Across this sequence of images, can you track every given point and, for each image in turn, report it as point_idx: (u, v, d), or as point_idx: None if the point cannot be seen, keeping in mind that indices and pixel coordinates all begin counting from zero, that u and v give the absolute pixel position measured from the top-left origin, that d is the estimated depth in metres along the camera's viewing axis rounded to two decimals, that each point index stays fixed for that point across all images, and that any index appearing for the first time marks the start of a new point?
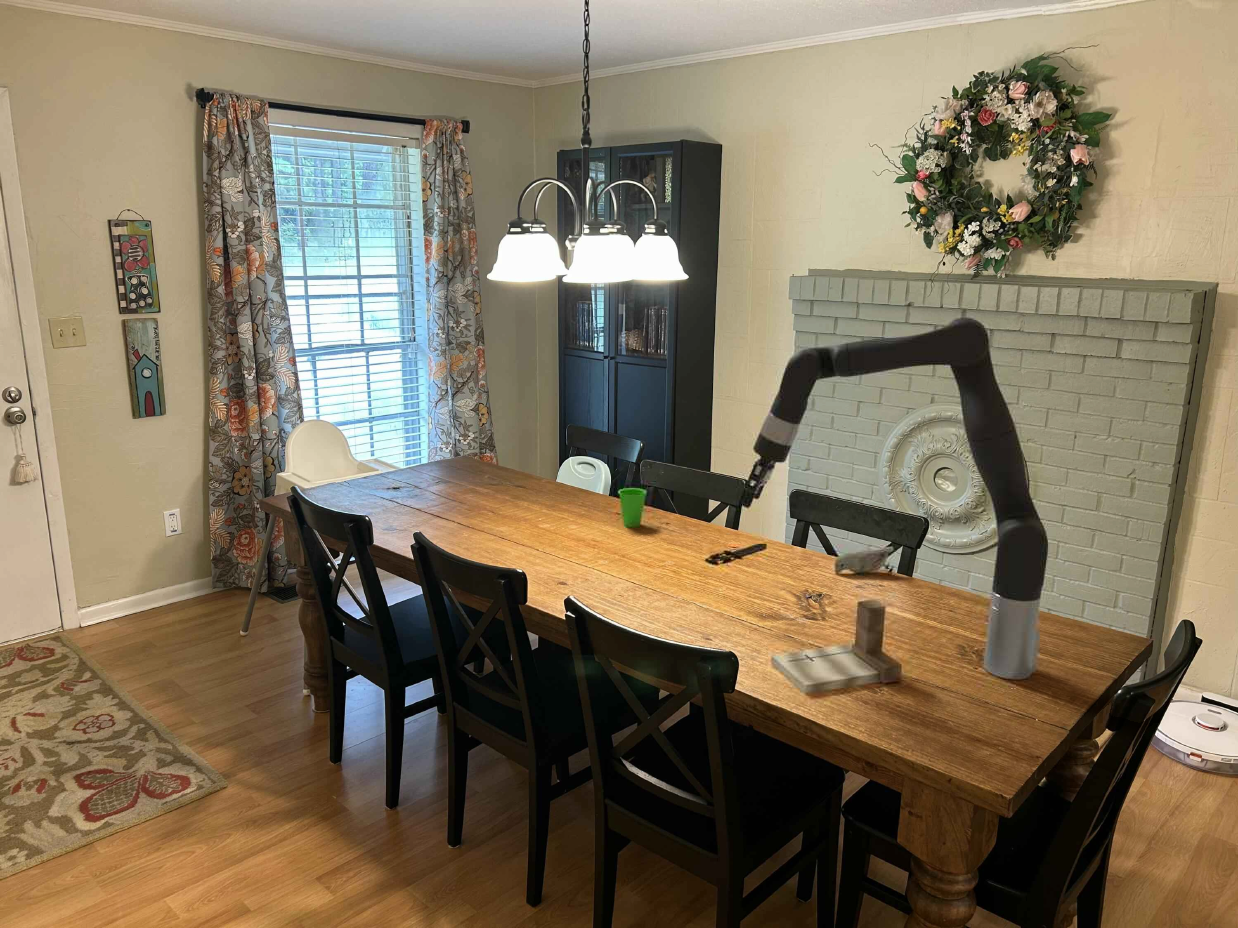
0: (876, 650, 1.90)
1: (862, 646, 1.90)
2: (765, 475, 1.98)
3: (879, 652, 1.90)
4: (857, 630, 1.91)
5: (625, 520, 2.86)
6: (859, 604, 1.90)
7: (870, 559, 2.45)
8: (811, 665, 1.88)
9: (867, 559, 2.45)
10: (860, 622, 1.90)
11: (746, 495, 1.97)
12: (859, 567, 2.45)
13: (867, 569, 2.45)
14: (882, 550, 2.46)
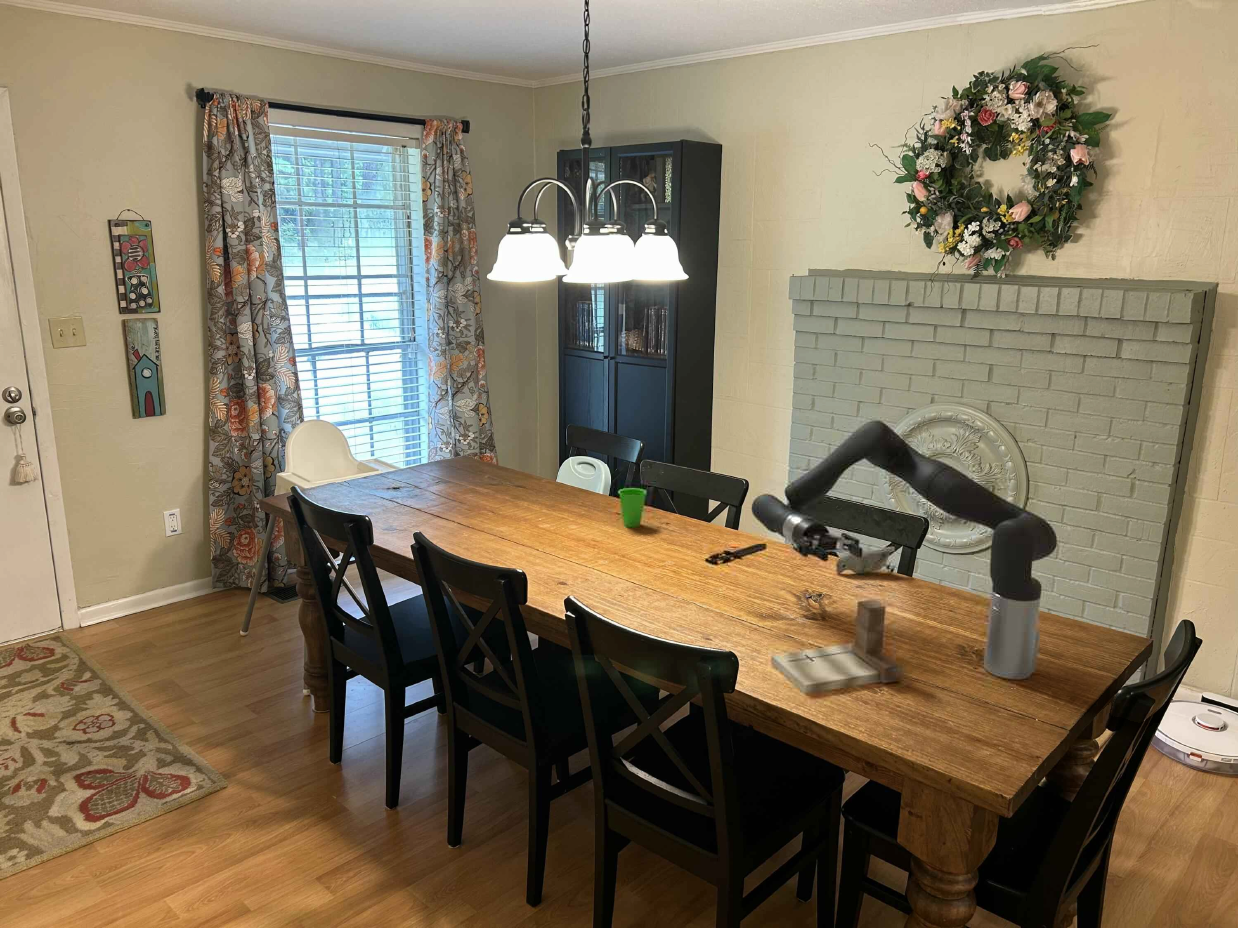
0: (876, 650, 1.90)
1: (862, 646, 1.90)
2: (813, 539, 2.04)
3: (879, 652, 1.90)
4: (857, 630, 1.91)
5: (625, 520, 2.86)
6: (859, 604, 1.90)
7: (872, 560, 2.45)
8: (811, 665, 1.88)
9: (869, 559, 2.45)
10: (860, 622, 1.90)
11: (815, 555, 1.99)
12: (861, 567, 2.45)
13: (869, 569, 2.45)
14: (883, 550, 2.46)
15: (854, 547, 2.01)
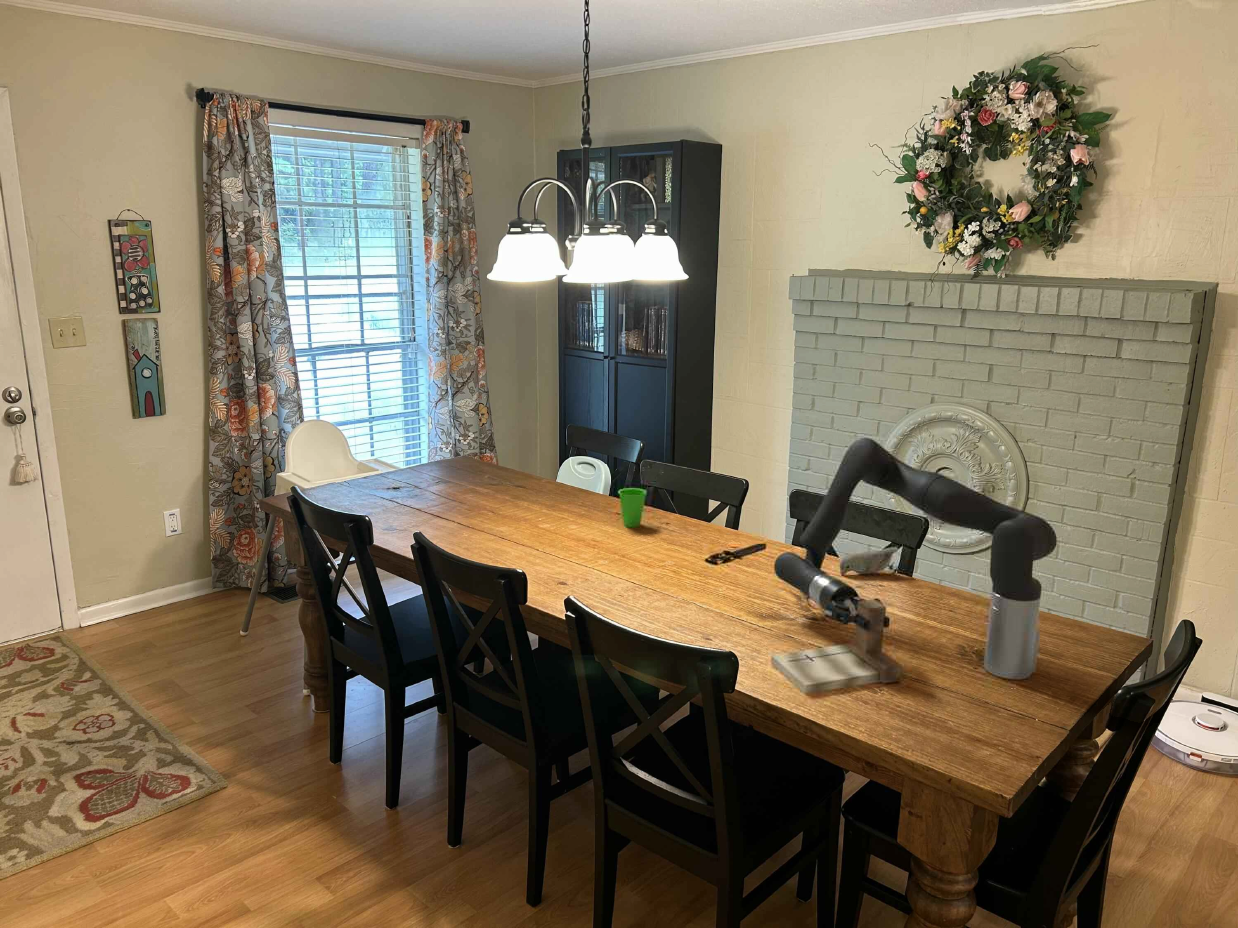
0: (876, 650, 1.90)
1: (862, 646, 1.90)
2: (846, 604, 1.94)
3: (879, 652, 1.90)
4: (857, 630, 1.91)
5: (625, 520, 2.86)
6: (859, 604, 1.90)
7: (875, 560, 2.44)
8: (811, 665, 1.88)
9: (872, 560, 2.44)
10: None
11: (856, 623, 1.89)
12: (865, 568, 2.44)
13: (872, 570, 2.44)
14: (887, 551, 2.46)
15: None
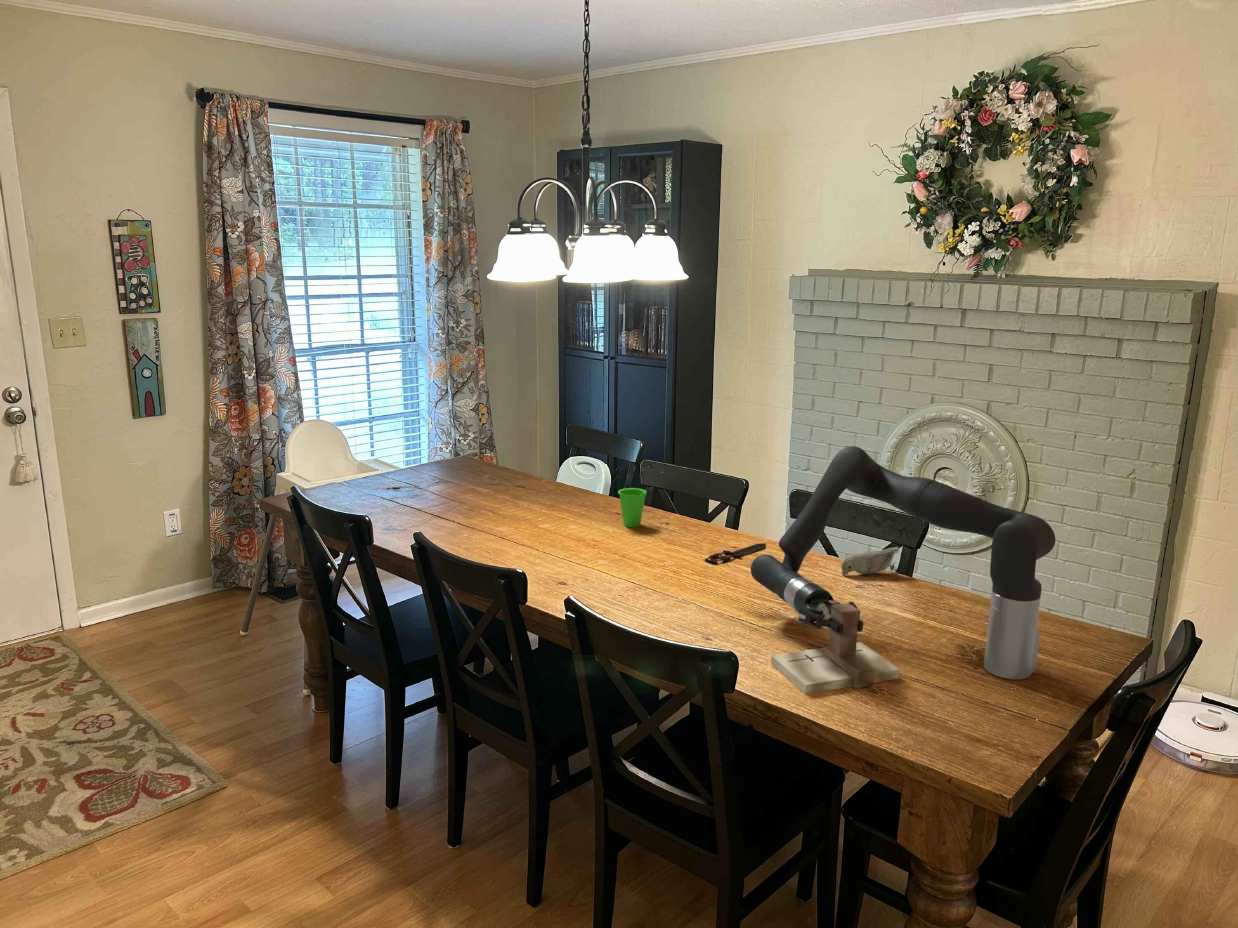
0: (850, 654, 1.88)
1: (835, 650, 1.88)
2: (820, 608, 1.92)
3: (853, 657, 1.88)
4: (831, 634, 1.89)
5: (625, 520, 2.86)
6: (832, 608, 1.88)
7: (877, 560, 2.44)
8: (811, 665, 1.88)
9: (874, 560, 2.44)
10: None
11: (830, 627, 1.87)
12: (866, 568, 2.44)
13: (874, 570, 2.44)
14: (888, 551, 2.46)
15: None
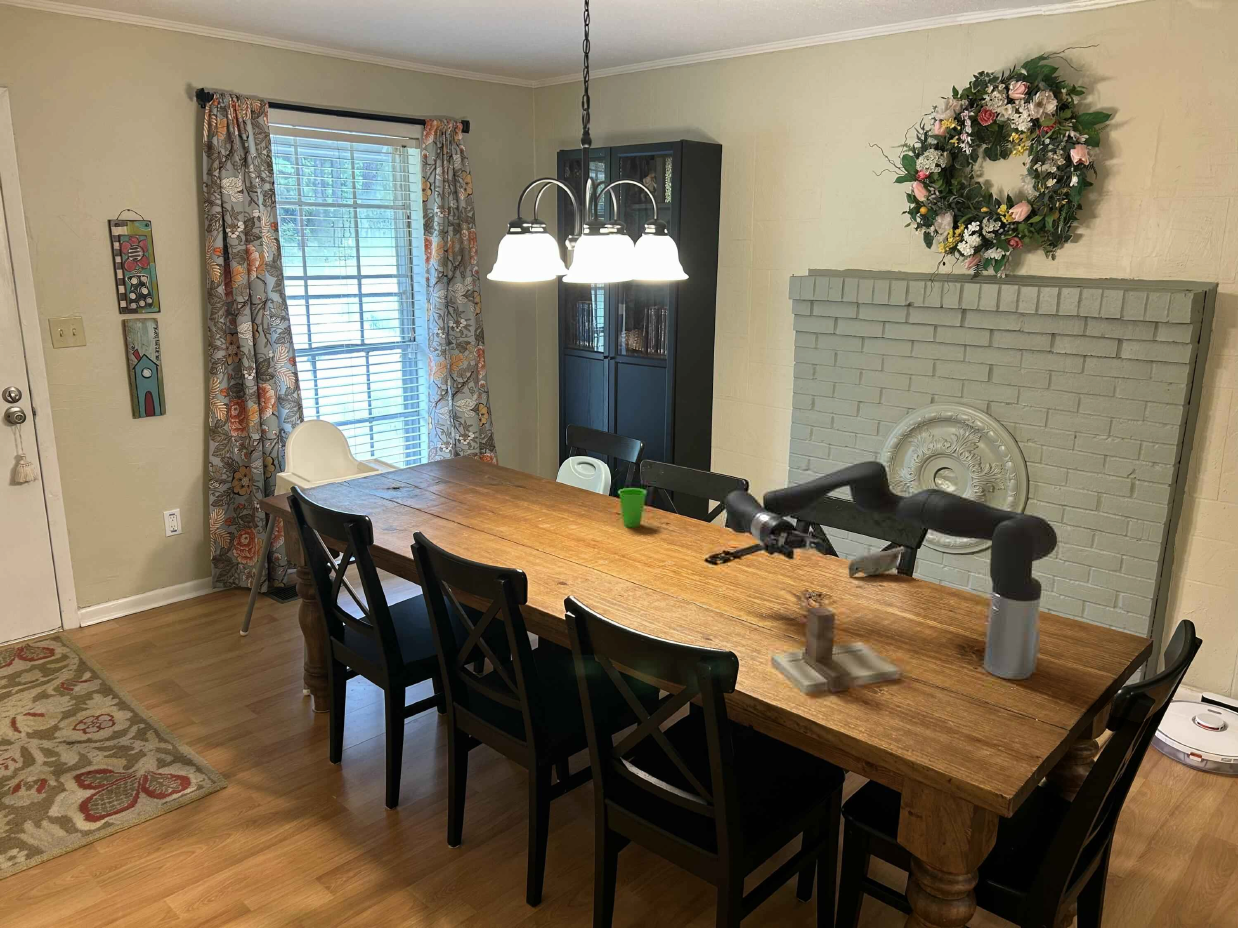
0: (826, 658, 1.86)
1: (811, 654, 1.86)
2: (780, 537, 2.02)
3: (829, 660, 1.86)
4: (807, 637, 1.88)
5: (625, 520, 2.86)
6: (809, 611, 1.86)
7: (884, 561, 2.44)
8: None
9: (881, 561, 2.43)
10: (810, 629, 1.86)
11: (781, 553, 1.97)
12: (873, 569, 2.44)
13: (881, 571, 2.44)
14: (894, 551, 2.45)
15: (820, 545, 1.99)
